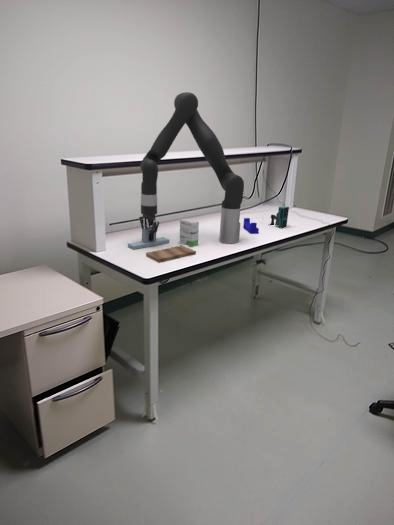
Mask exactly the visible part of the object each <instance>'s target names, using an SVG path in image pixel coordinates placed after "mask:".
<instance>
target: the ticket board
mask: <svg viewBox="0 0 394 525" xmlns="http://www.w3.org/2000/svg"><path fill="white" fill-rule="evenodd" d="M195 255H197V251H196V250H194V249H192V248H189V247H187V246H186V245H185V246H184V245H183V244H181V245H179V246H172V247H167V248H162V249H157V250H153V251H147V252H145V257H147V258H149V259H151V260H153V261H155V262H157V263H158V264H160V263H164V262H169V261H172V260H177V259H181V258H185V257H190V256H195Z"/></svg>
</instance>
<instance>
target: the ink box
mask: <svg viewBox="0 0 394 525" xmlns="http://www.w3.org/2000/svg"><path fill="white" fill-rule="evenodd" d="M199 226H200V222H199V221H198V220H194V219H189V218H182V219H180V220H179V244H181V245H183V246H184V245H185V246H188V247H192V248H193V247H195V246H198V245H199V232H200V231H199V228H200V227H199Z"/></svg>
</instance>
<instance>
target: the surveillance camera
mask: <svg viewBox="0 0 394 525" xmlns="http://www.w3.org/2000/svg"><path fill="white" fill-rule="evenodd" d="M289 211H290V207H289V206H286V207H285V206H279V207H278V212H277V213H276V215H275V214H271V215H270V219H271V222H270V223H269V224H270V225H274V224H275V226H278V228H280V229H285V228H284V227H286V226H287V225H288V217H289ZM269 224H267V225H268V226H270V225H269ZM286 228H287V227H286Z"/></svg>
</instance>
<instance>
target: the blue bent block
mask: <svg viewBox="0 0 394 525" xmlns="http://www.w3.org/2000/svg"><path fill="white" fill-rule="evenodd" d="M257 225H258V223H257V222H251V218H250V217H244V218H243V226H242V228H243V229H244V230H245V231H246V232H248V234H250V235H259V232H260V231H259V230H260V229H259V228H258V226H257Z"/></svg>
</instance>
